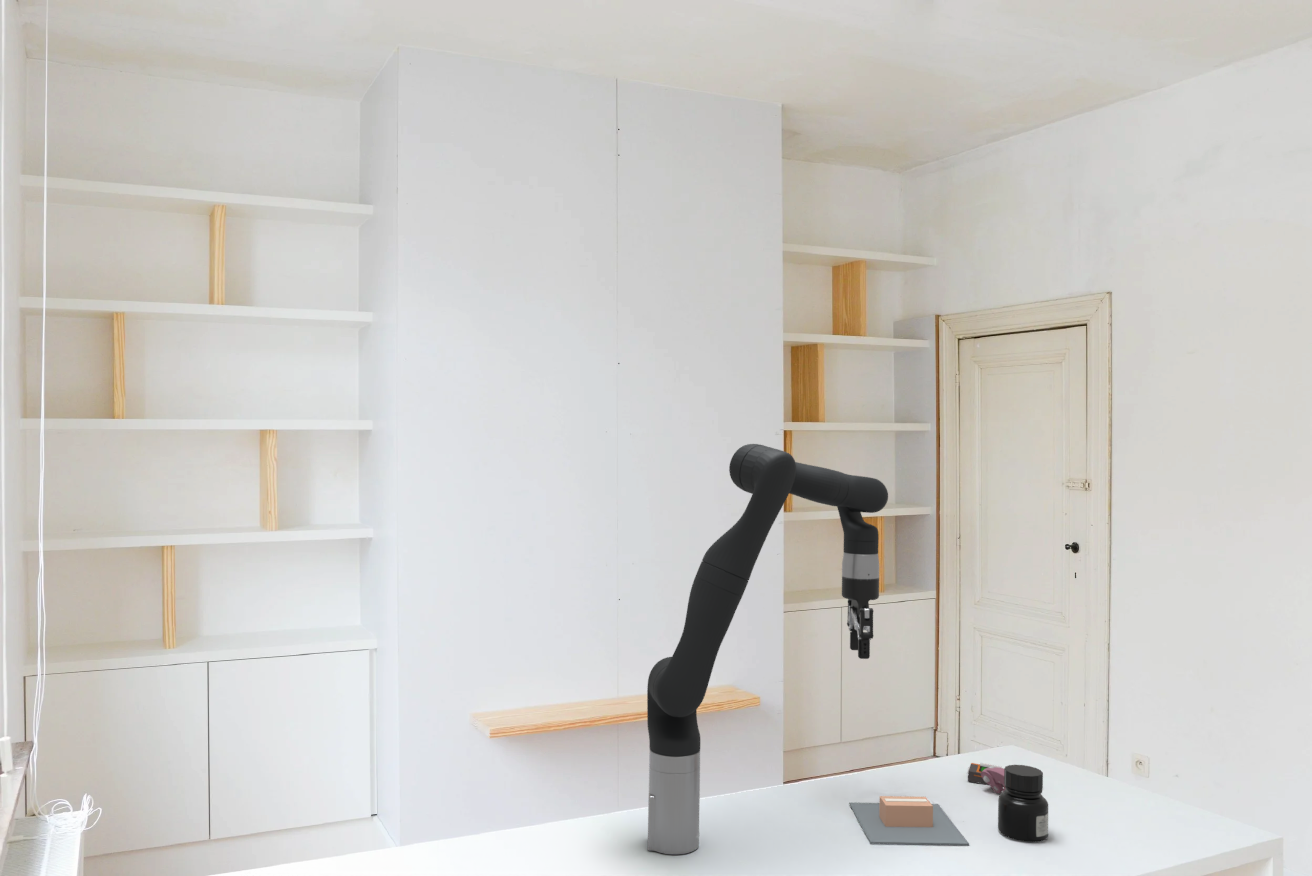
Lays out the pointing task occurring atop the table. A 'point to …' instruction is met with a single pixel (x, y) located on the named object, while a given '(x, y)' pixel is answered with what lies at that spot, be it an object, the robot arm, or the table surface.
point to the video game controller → (994, 778)
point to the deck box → (905, 811)
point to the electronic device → (978, 772)
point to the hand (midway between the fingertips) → (859, 654)
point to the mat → (907, 828)
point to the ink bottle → (1023, 805)
